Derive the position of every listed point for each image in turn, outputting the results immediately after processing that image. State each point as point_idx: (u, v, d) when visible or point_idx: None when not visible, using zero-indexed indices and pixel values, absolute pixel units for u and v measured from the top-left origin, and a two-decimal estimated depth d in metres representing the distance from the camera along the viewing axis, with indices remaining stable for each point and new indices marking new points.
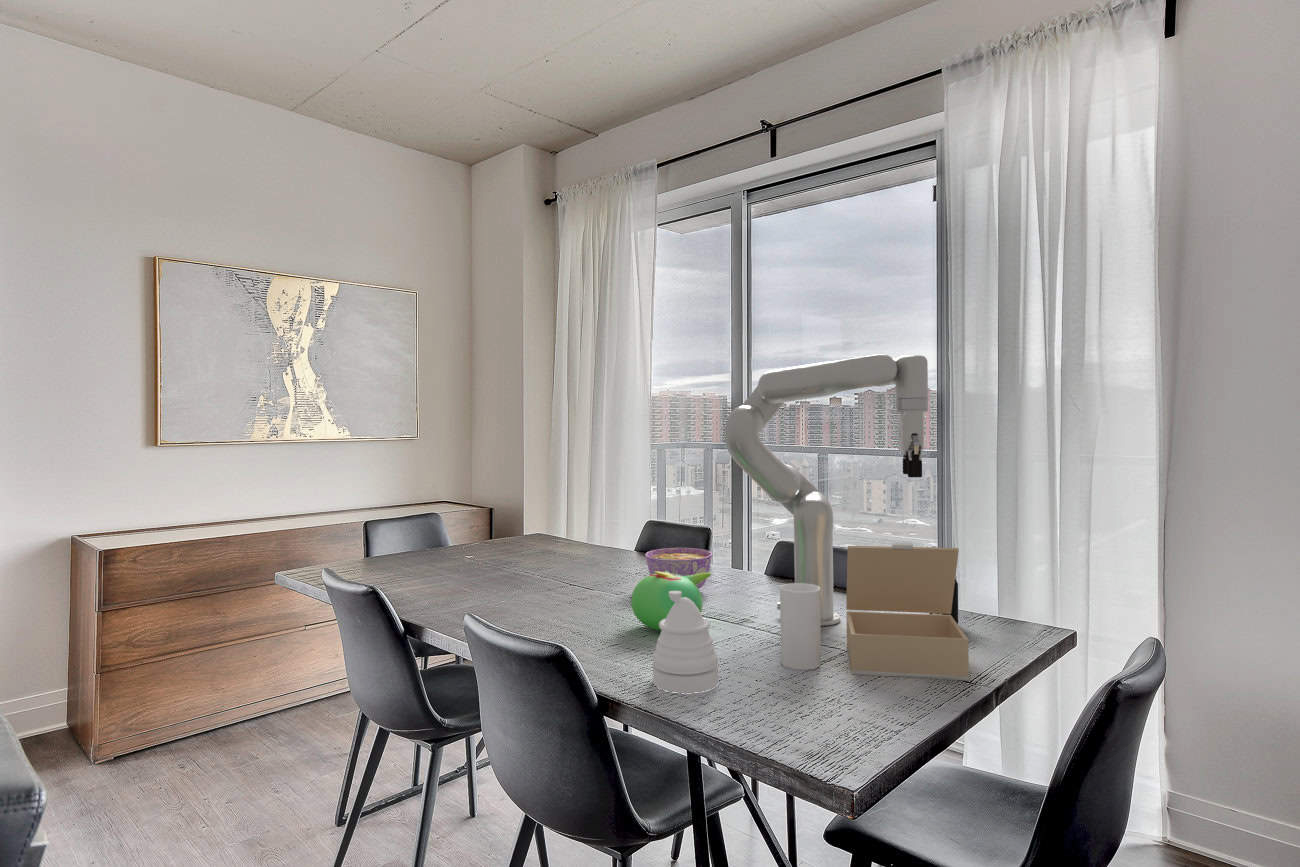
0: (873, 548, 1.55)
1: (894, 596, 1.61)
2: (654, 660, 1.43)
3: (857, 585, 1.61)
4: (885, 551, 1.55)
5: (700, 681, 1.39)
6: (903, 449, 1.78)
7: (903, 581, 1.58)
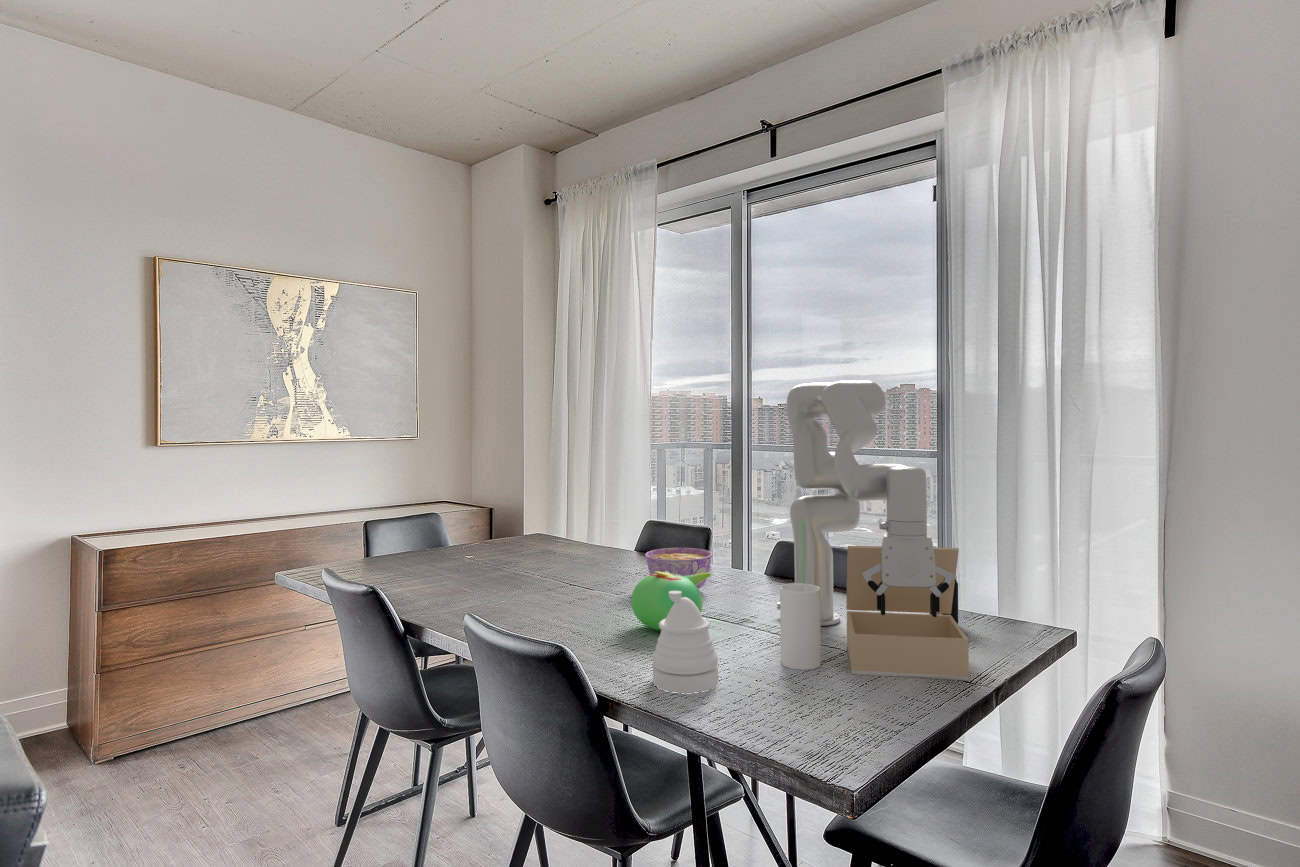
0: (873, 548, 1.55)
1: (894, 596, 1.61)
2: (654, 660, 1.43)
3: (857, 585, 1.61)
4: None
5: (700, 681, 1.39)
6: (933, 584, 1.44)
7: None
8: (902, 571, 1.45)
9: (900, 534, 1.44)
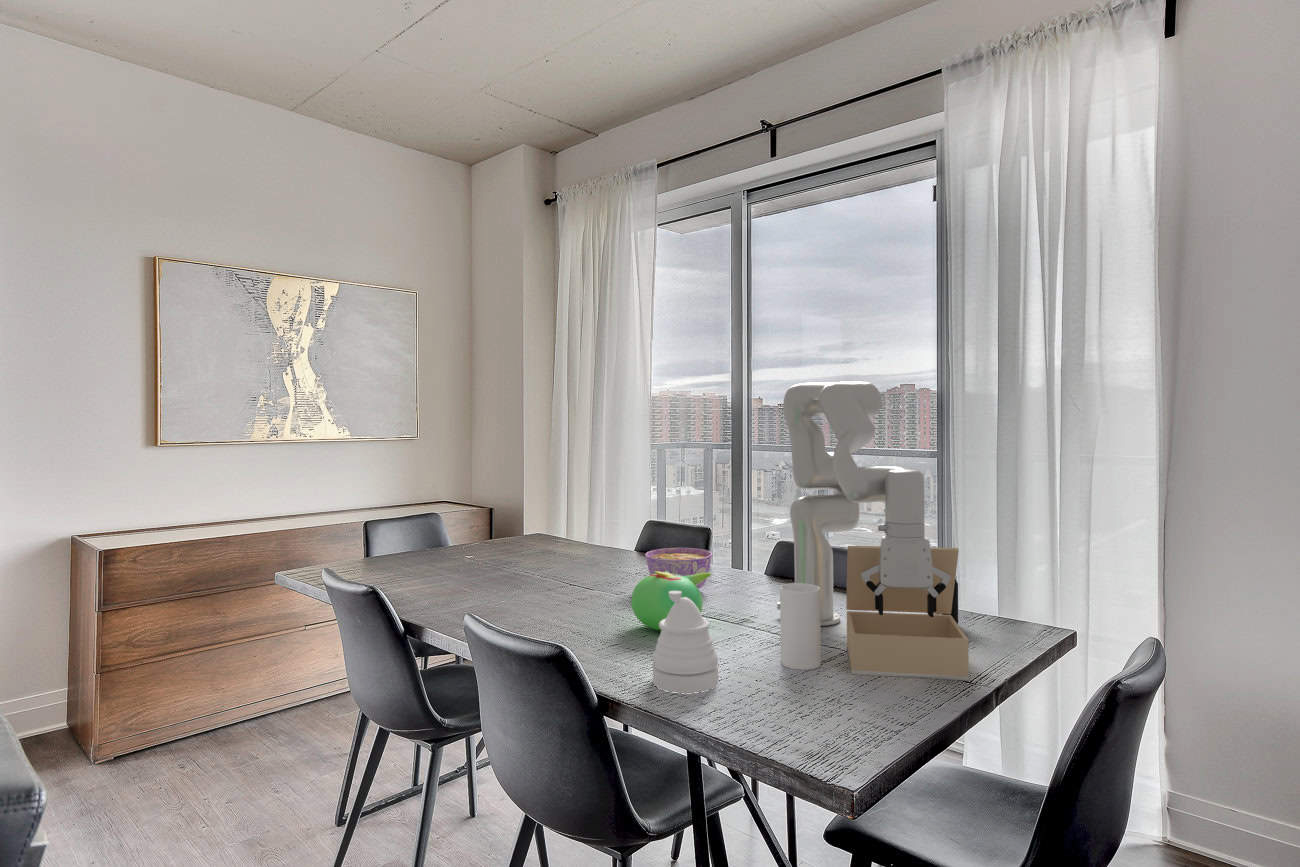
0: (873, 548, 1.55)
1: (894, 596, 1.61)
2: (654, 660, 1.43)
3: (857, 585, 1.61)
4: None
5: (700, 681, 1.39)
6: (930, 585, 1.47)
7: None
8: (900, 572, 1.47)
9: (898, 536, 1.47)
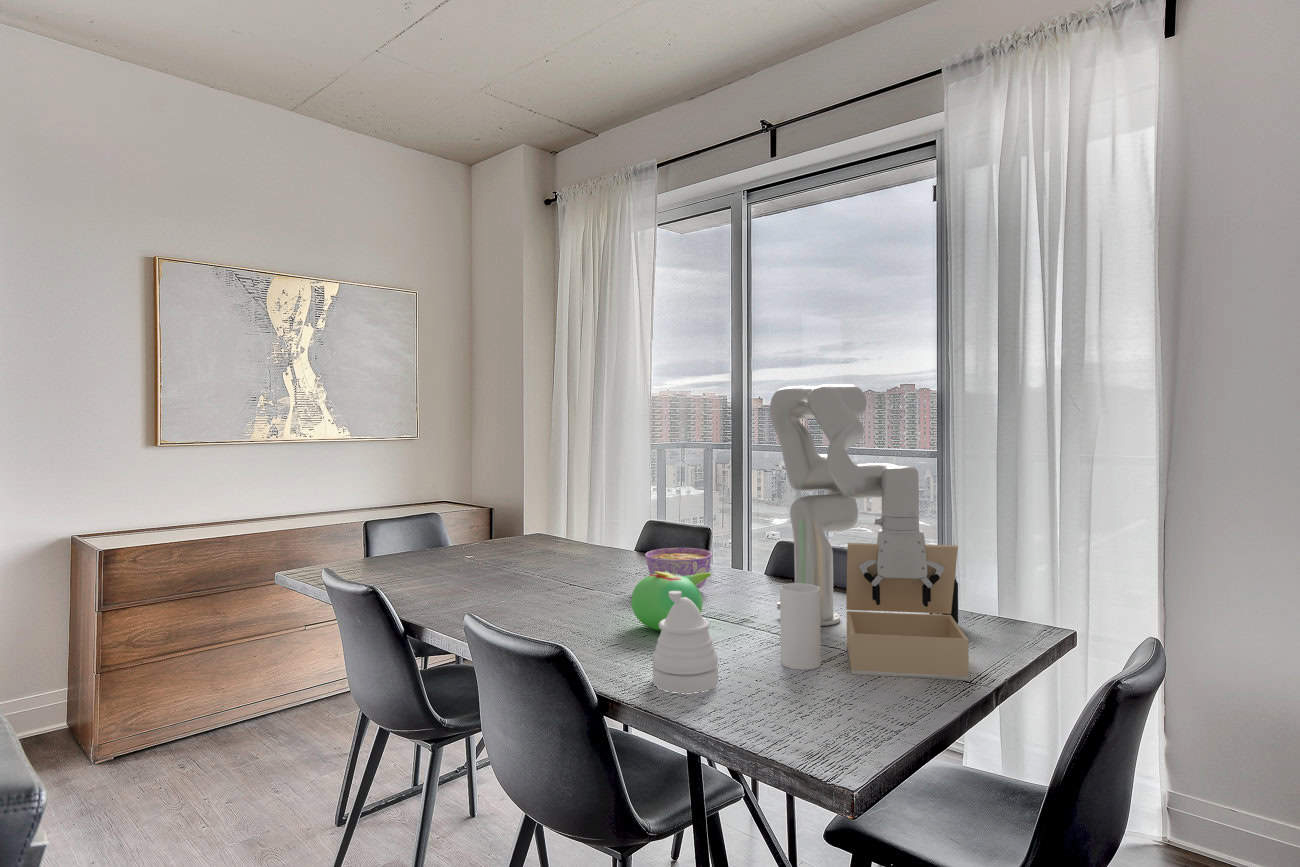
0: (873, 545, 1.56)
1: (894, 595, 1.61)
2: (654, 660, 1.43)
3: (857, 584, 1.61)
4: None
5: (700, 681, 1.39)
6: (925, 576, 1.54)
7: (903, 579, 1.59)
8: (896, 563, 1.55)
9: (894, 529, 1.54)
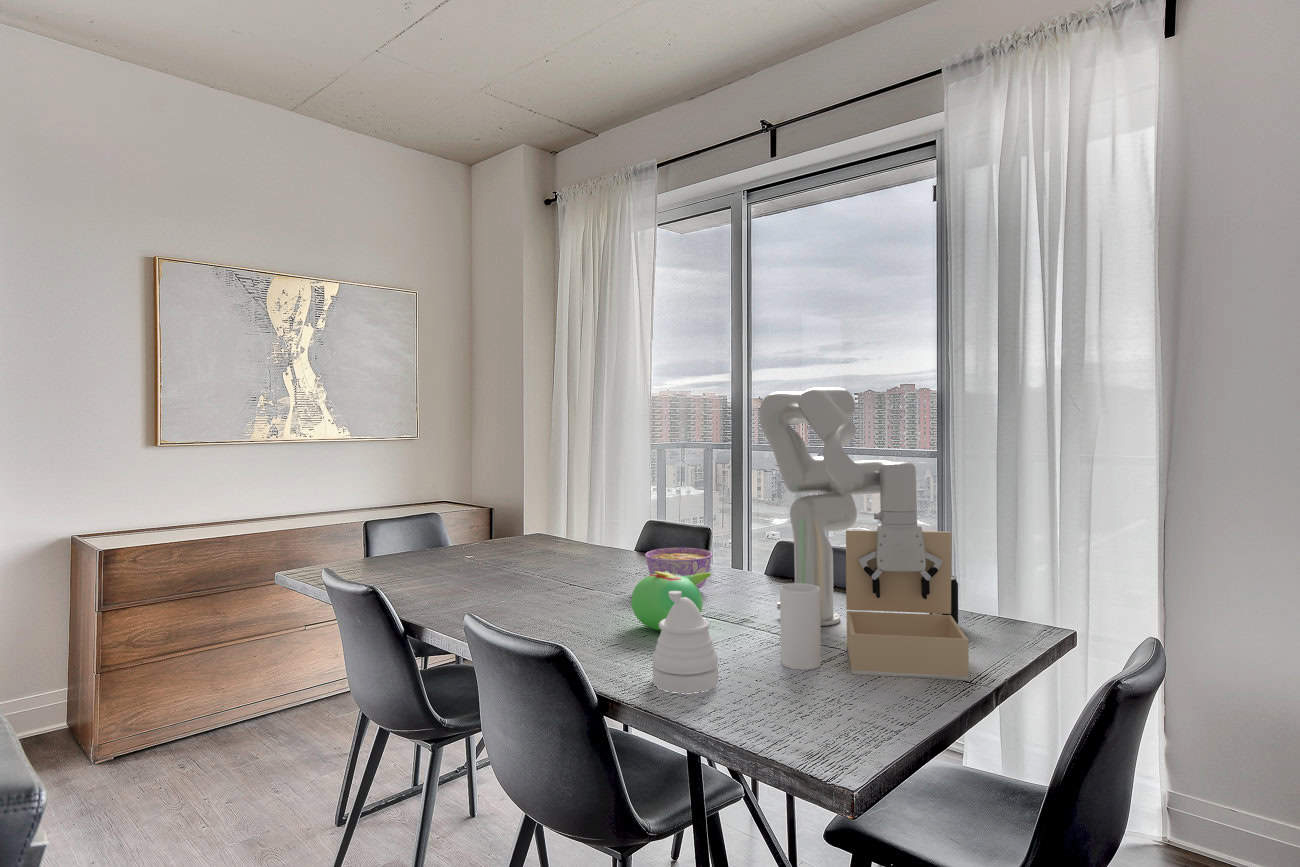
0: (870, 531, 1.63)
1: (893, 591, 1.63)
2: (654, 660, 1.43)
3: (856, 577, 1.64)
4: None
5: (700, 681, 1.39)
6: (923, 569, 1.57)
7: None
8: (895, 557, 1.58)
9: (892, 523, 1.58)
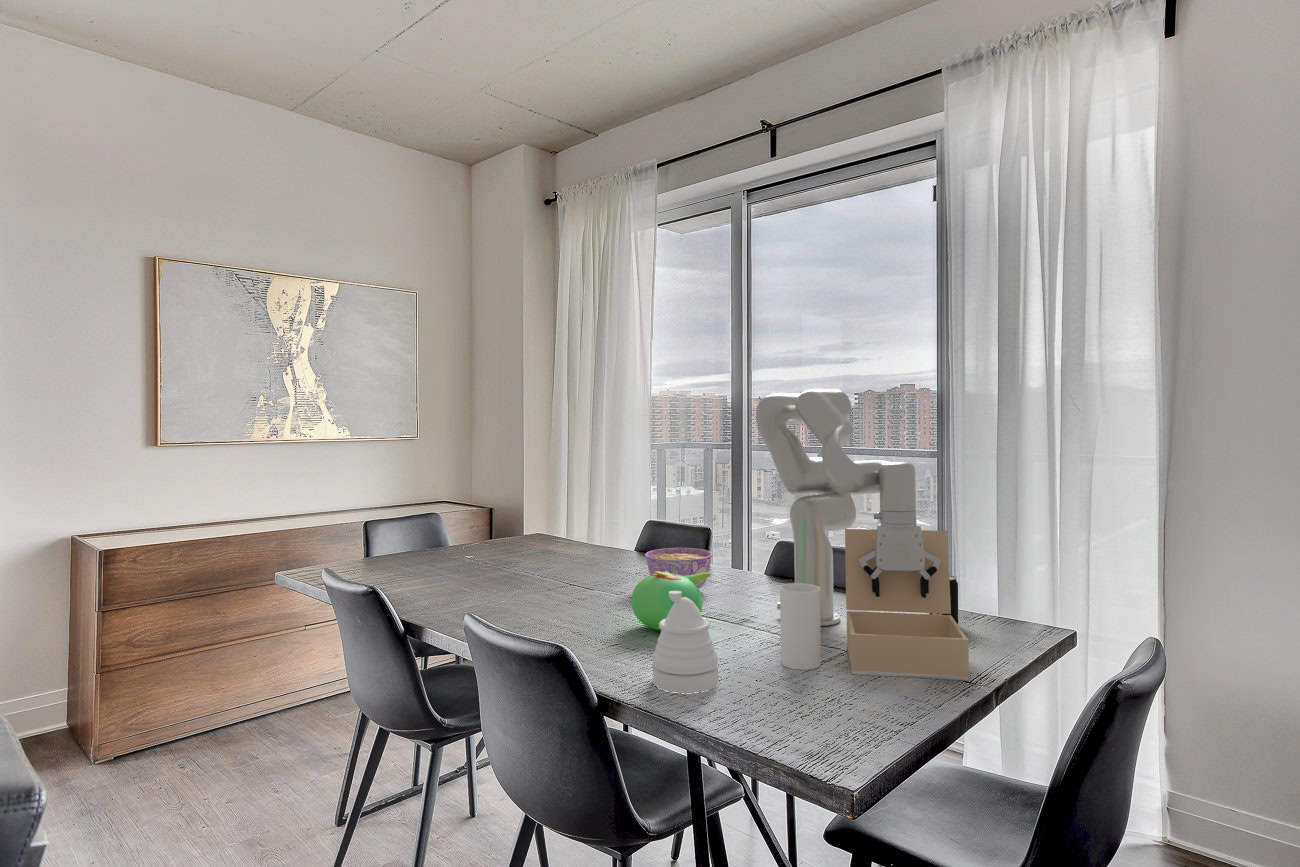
0: (868, 529, 1.68)
1: (892, 590, 1.64)
2: (654, 660, 1.43)
3: (855, 576, 1.66)
4: None
5: (700, 681, 1.39)
6: (922, 568, 1.59)
7: None
8: (894, 556, 1.60)
9: (892, 523, 1.59)
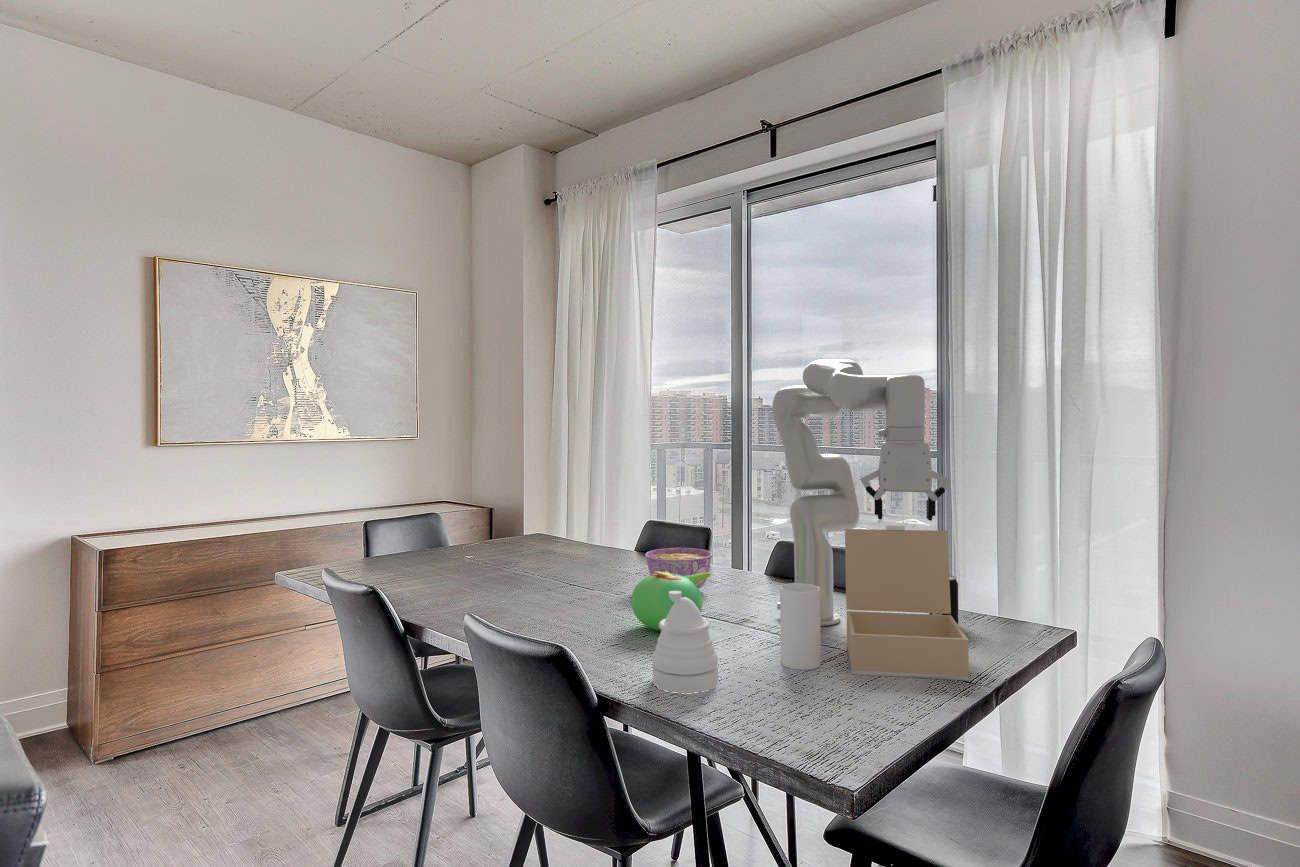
0: (868, 529, 1.68)
1: (892, 590, 1.64)
2: (654, 660, 1.43)
3: (855, 576, 1.66)
4: (879, 533, 1.67)
5: (700, 681, 1.39)
6: (929, 488, 1.48)
7: (899, 570, 1.65)
8: (899, 475, 1.49)
9: (898, 439, 1.48)
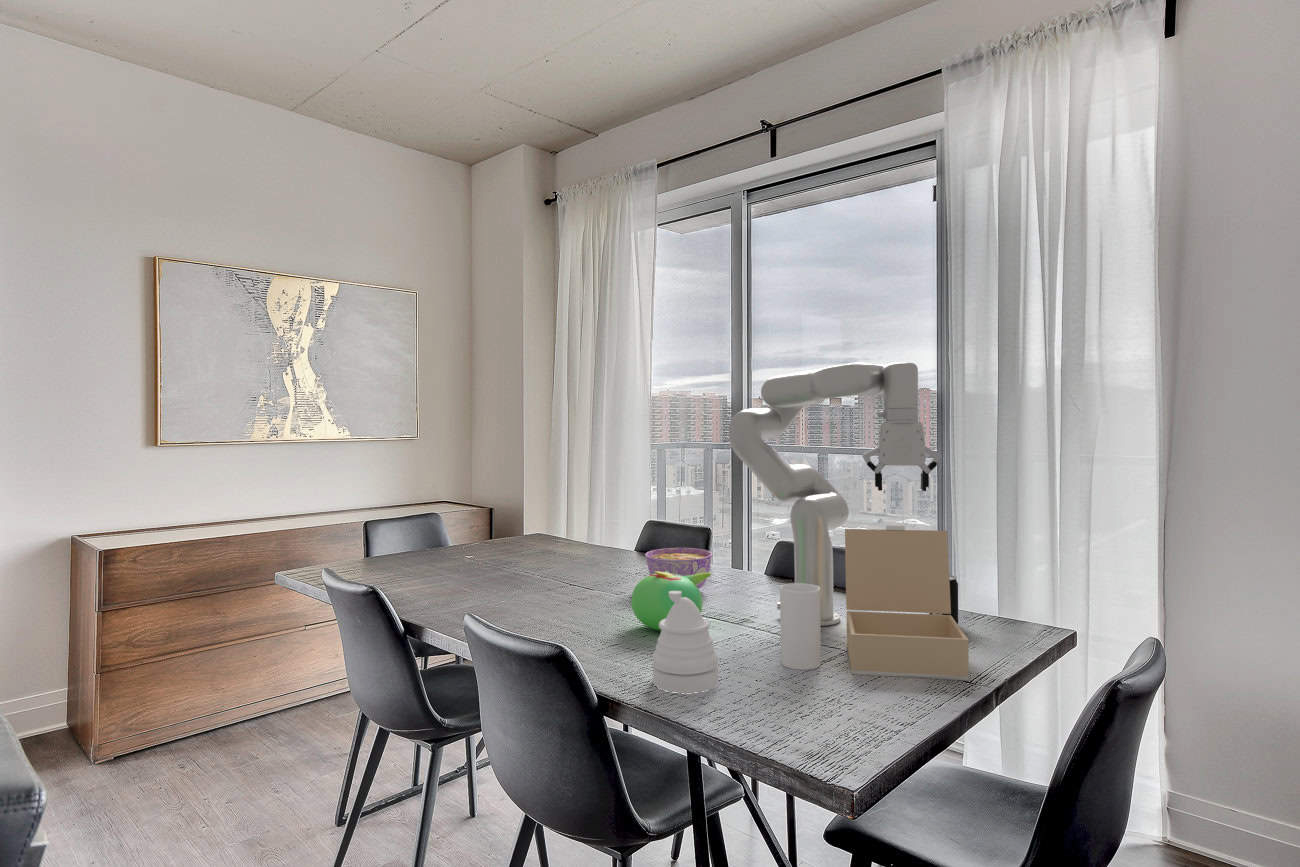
0: (868, 529, 1.68)
1: (892, 590, 1.64)
2: (654, 660, 1.43)
3: (855, 576, 1.66)
4: (879, 533, 1.67)
5: (700, 681, 1.39)
6: (923, 462, 1.67)
7: (899, 570, 1.65)
8: (897, 451, 1.68)
9: (895, 419, 1.68)
